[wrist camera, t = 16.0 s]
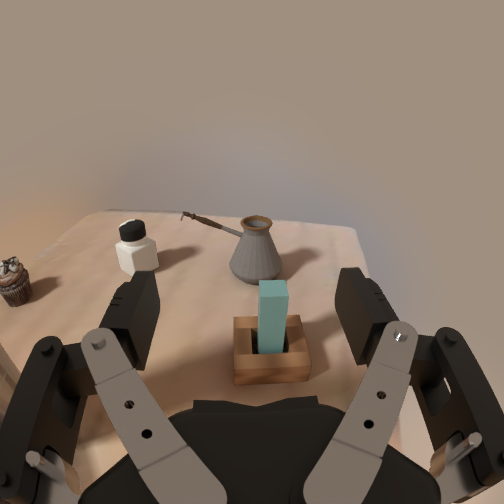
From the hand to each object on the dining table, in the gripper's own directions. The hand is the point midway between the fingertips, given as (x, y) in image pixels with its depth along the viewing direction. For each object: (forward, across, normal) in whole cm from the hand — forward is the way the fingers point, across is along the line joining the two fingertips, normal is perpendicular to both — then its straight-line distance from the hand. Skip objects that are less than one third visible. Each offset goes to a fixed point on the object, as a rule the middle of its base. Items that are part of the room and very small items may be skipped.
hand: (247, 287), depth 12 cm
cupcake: (+34, +55, +30) cm, 72 cm away
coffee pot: (+45, +2, +30) cm, 54 cm away
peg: (+21, -4, +30) cm, 37 cm away
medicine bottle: (+48, +24, +30) cm, 62 cm away
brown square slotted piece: (+21, -4, +30) cm, 37 cm away
